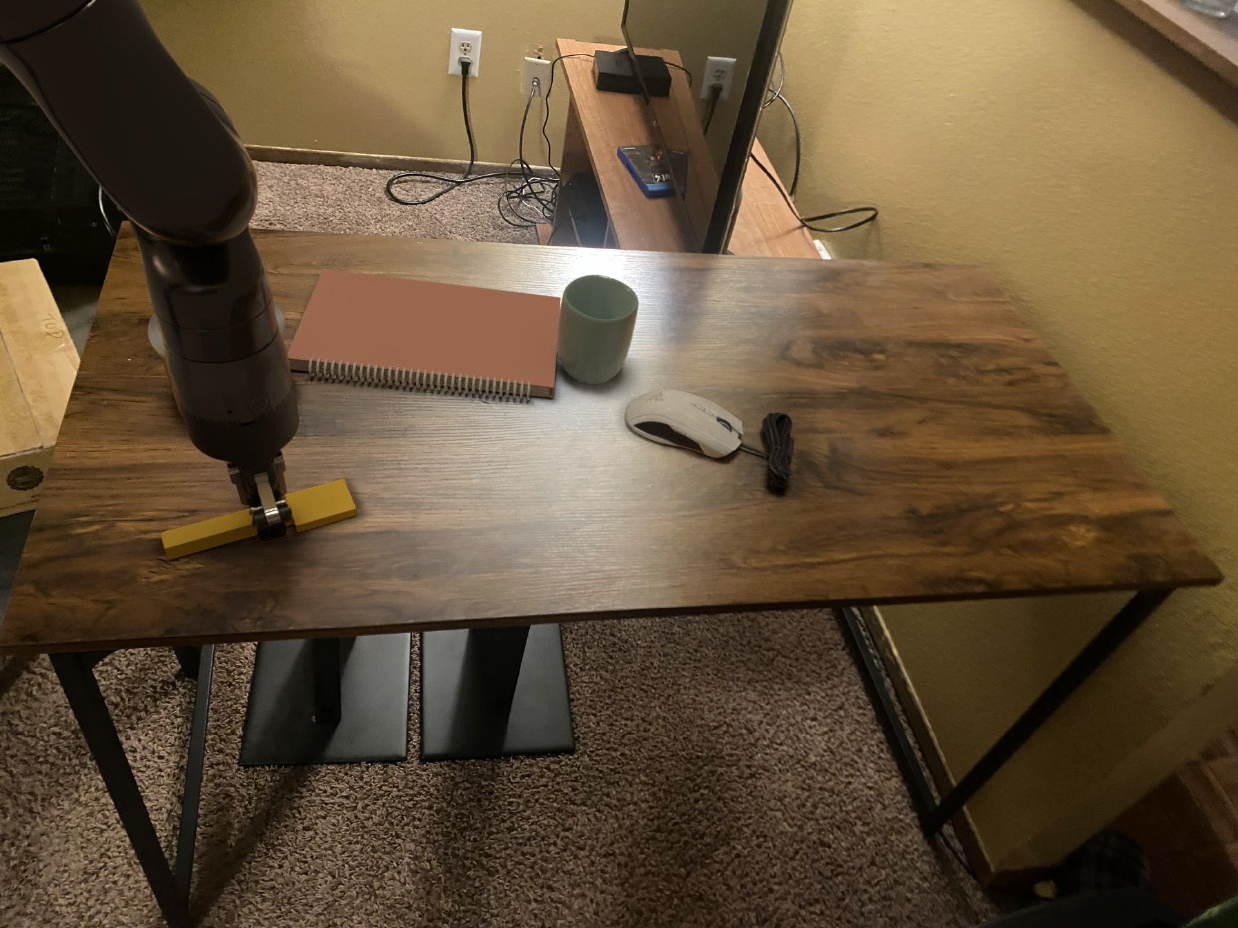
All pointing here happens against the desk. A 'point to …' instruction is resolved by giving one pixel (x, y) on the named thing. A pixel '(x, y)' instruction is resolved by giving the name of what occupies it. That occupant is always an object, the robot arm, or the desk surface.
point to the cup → (596, 327)
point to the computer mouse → (708, 428)
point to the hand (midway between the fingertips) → (272, 533)
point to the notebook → (428, 335)
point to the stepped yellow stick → (306, 514)
